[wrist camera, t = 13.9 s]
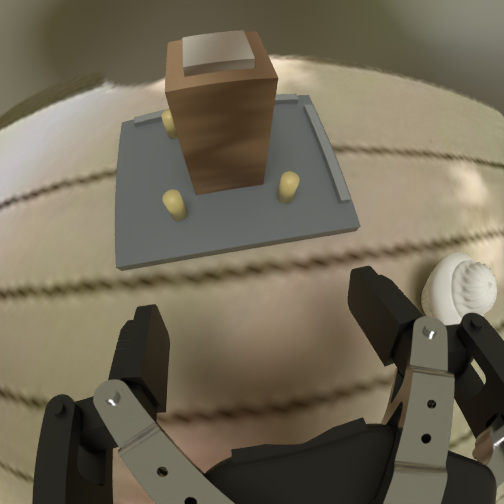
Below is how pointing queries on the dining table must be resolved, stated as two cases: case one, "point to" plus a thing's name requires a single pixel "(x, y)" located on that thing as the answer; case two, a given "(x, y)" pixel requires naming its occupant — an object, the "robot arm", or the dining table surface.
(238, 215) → the plate
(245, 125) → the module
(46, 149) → the dining table surface
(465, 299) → the white rounded jar
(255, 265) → the dining table surface
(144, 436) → the robot arm
